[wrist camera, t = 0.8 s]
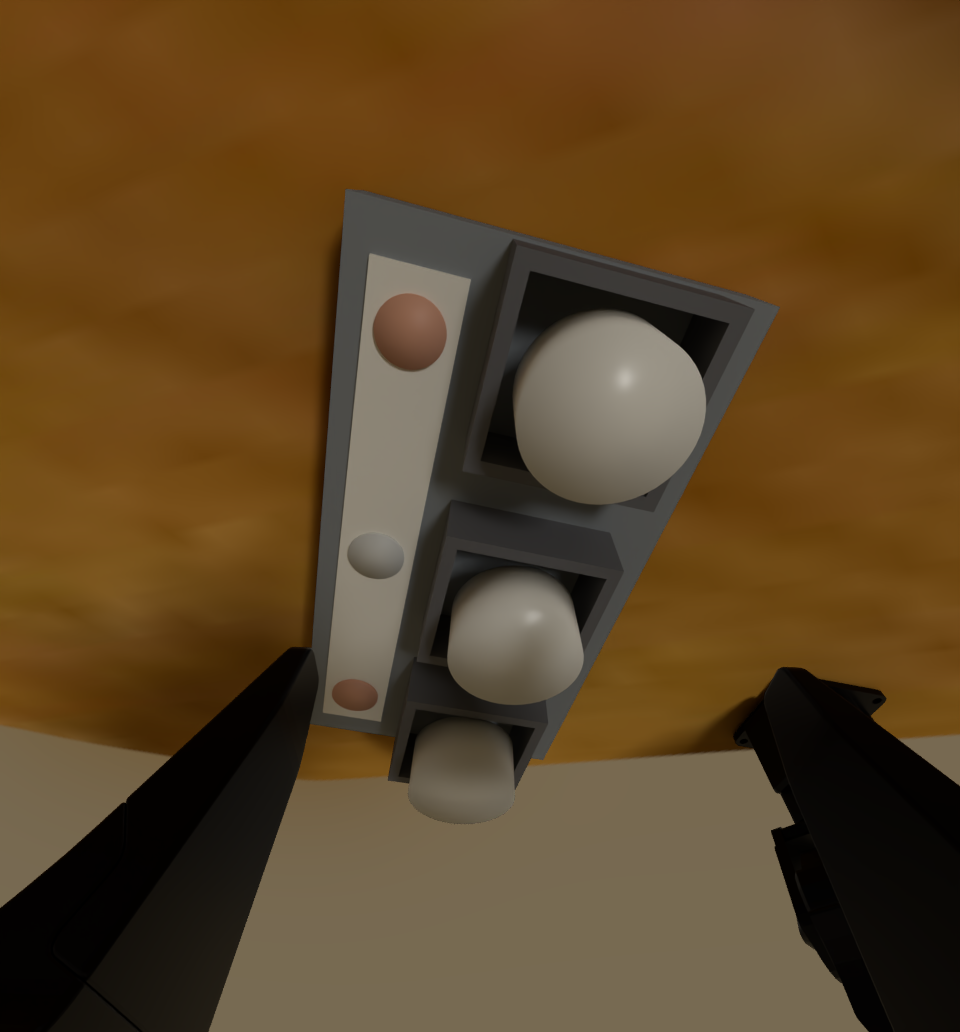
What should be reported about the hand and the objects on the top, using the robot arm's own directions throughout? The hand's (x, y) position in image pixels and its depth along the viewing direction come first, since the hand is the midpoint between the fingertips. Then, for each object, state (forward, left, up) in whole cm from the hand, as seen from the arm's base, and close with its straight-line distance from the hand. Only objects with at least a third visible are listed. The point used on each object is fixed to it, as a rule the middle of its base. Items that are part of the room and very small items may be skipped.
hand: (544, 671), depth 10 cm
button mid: (-1, +6, -9) cm, 11 cm away
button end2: (-1, +16, -9) cm, 18 cm away
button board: (0, +6, -13) cm, 15 cm away
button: (-1, -3, -9) cm, 9 cm away
